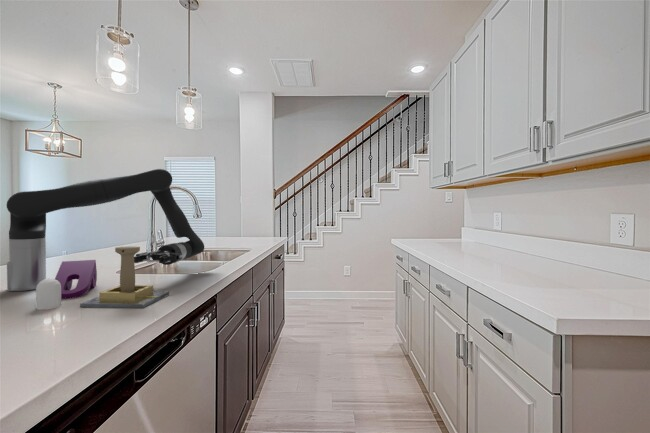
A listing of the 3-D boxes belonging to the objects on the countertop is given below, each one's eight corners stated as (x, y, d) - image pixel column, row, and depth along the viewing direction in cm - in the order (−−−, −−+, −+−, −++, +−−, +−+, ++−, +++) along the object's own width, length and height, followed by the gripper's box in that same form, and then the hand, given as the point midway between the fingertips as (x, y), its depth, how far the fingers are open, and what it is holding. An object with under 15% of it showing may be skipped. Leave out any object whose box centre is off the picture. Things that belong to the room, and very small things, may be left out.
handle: (134, 299, 94) (134, 248, 94) (111, 299, 94) (111, 248, 94) (142, 294, 99) (142, 246, 99) (121, 294, 99) (121, 246, 98)
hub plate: (80, 307, 89) (79, 294, 89) (114, 293, 103) (114, 283, 103) (143, 307, 89) (143, 295, 89) (169, 294, 103) (168, 283, 103)
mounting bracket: (88, 312, 103) (97, 278, 117) (86, 292, 100) (95, 259, 114) (51, 317, 99) (65, 281, 113) (47, 295, 95) (62, 261, 110)
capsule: (49, 309, 87) (49, 280, 87) (30, 309, 87) (30, 280, 87) (66, 304, 92) (65, 276, 92) (48, 303, 93) (48, 276, 92)
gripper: (153, 243, 123) (126, 248, 107) (190, 243, 122) (168, 249, 106) (154, 262, 123) (126, 271, 107) (190, 263, 123) (168, 271, 106)
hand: (147, 260), depth 107 cm, fingers open, 8 cm apart
